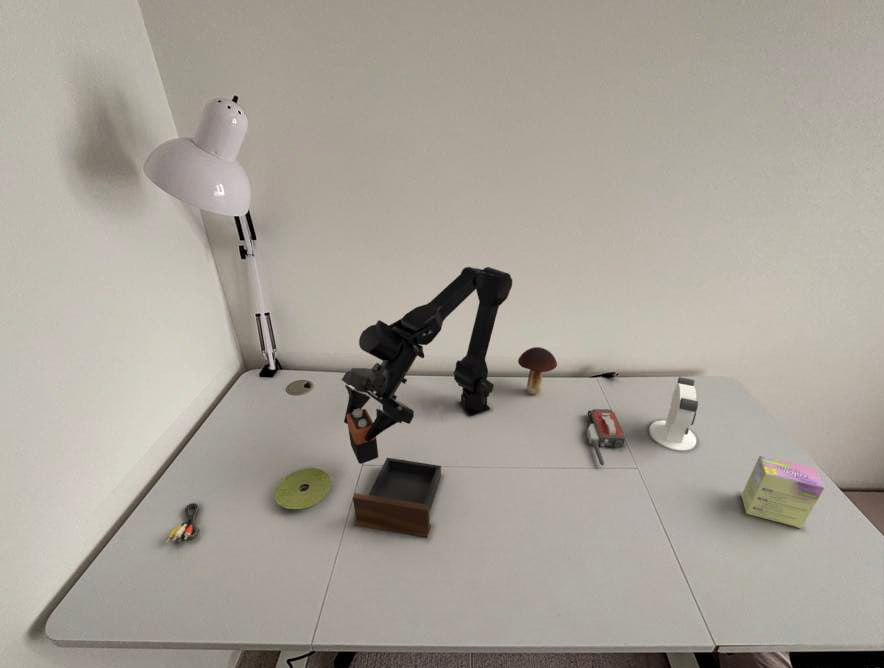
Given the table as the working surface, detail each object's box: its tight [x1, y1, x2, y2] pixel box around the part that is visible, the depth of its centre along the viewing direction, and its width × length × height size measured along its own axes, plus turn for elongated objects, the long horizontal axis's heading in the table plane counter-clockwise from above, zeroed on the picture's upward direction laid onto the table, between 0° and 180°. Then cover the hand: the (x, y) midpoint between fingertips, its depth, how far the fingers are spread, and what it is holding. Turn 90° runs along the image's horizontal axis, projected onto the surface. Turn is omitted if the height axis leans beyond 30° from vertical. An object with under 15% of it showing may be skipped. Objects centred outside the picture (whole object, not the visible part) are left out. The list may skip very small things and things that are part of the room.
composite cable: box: [165, 502, 200, 544], centre depth 85 cm, size 10×5×2 cm, turn 10°
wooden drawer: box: [352, 457, 442, 539], centre depth 91 cm, size 16×15×7 cm
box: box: [741, 455, 826, 529], centre depth 90 cm, size 10×6×12 cm, turn 71°
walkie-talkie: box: [586, 408, 626, 466], centre depth 110 cm, size 9×4×20 cm
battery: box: [345, 408, 379, 465], centre depth 93 cm, size 4×7×10 cm, turn 29°
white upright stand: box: [648, 376, 699, 452], centre depth 110 cm, size 12×11×15 cm
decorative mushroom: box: [517, 346, 558, 395], centre depth 125 cm, size 11×11×15 cm
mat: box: [274, 467, 332, 510], centre depth 93 cm, size 11×11×2 cm
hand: (355, 431), depth 91 cm, fingers closed on battery, 7 cm apart
